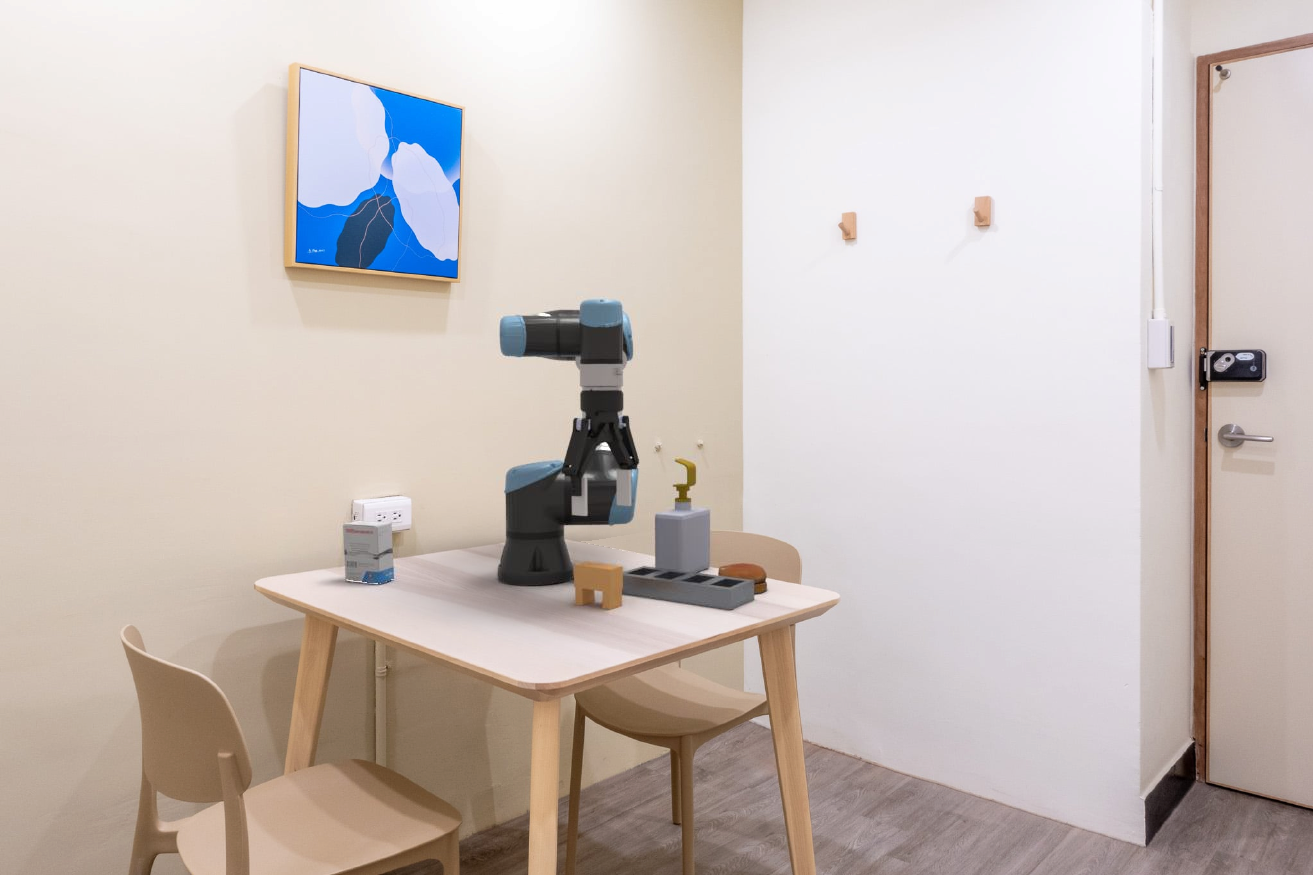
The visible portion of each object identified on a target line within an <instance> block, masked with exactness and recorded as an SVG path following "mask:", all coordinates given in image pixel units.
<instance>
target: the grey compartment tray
mask: <svg viewBox="0 0 1313 875" xmlns="http://www.w3.org/2000/svg"><path fill="white" fill-rule="evenodd" d="M622 595H629V596H635V597H642V598H649V599H655V600H656V599H657V600H662V601H668V602H674V603H682V604H688V605H693V606H694V605H696V606H703V607H710V608H713V609H723V610H728V611H731V610H733V609H735V608H736V609H737V608H738V607H741V606H743V605H745V604H747V603H749V602H752V601H754V600H755V593H754V580H749V579H741V578H734V577H726V576H719V575H718V574H717V575H716V574H708V573H702V572H687V571H679V570H671V569H663V568H656V567H654V566H648V565H647V566H646V565H643V566H639V567H635V568H633V569H629V570H626V571H623V589H622Z"/></svg>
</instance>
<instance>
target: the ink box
mask: <svg viewBox="0 0 1313 875" xmlns="http://www.w3.org/2000/svg"><path fill="white" fill-rule="evenodd" d="M342 533H343V551H344V552H343V554H344V573H345V575H344V576H345V580H346V579H348V580H353V581H362V582H367V583H378V584H380V583H383V584H386V583H387V582H386V581H389V582H391V581H392V580H391V579H394V580H395V572H394V571H395V570H394V551H393V550H394V546H393V525H392V522H386V521H385V522H384V521H365V520H356V521H352V522H346V523H344V524H343V525H342ZM390 580H391V581H390ZM385 582H386V583H385ZM380 585H381V584H380Z"/></svg>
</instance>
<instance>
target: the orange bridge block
mask: <svg viewBox="0 0 1313 875" xmlns="http://www.w3.org/2000/svg"><path fill="white" fill-rule="evenodd" d="M623 566H624V565H616V564H609V563H602V562H593V561H583V562H580V563H576V564H573V578H574V579H573V587H574V595H575V596H574V599H575V600H574V605H579V606H584V605H587V604H588V605H589V604H590V603H593V602H595V601H596V599H595V598H596V597H595V596H596V595H595V594H596V593H595V592H596V591H597V592H602V594H601V595H602V598H601V599H602V604H601V605H602V609H603V610H613V609H615V608H619V607H622V606H623V594H622V589H623V572H624V571H623V570H624V569H623V568H624V567H623Z"/></svg>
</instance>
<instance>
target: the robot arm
mask: <svg viewBox="0 0 1313 875" xmlns="http://www.w3.org/2000/svg"><path fill="white" fill-rule="evenodd" d="M630 321H631V320H630V317H629V315H628V314H627V312H625V311H624V310H623V305H622V302H621V301H620V300H617V299H609V298H608V299H606V298H603V299H601V298H598V299H597V298H593V299H585V300H583V301H581V303H580V305H579V309H555V310H548V311H544V312H540V313H539V312H538V313H534V314H531V315H522V314H515V315H506V316H505V315H504V316H503V317H501V319H500V322H499V346H500V347H499V348H500V353H501V354H502V356H505V357H516V358H522V357H523V358H526V357H527V358H528V357H529V358H530V357H531V358H532V357H536V358H543V359H548V360H553V361H561V362H562V361H563V362H566V361H567V362H575V366H576V368H577V369H578V371H579V386H580V388H581V391H580V393H579V394H580V396H579V398H580V399H579V402H580V403H579V404H580V405H579V406H580V407H579V408H580V411H581V417H574V418H573V420H572V431H571V435H570V439H569V442H568V446H567V449H566V454H565V456H564V460H559V459H557V460H556V459H555V460H547V461H546V460H545V461H543V460H542V461H537V462H536V461H535V462H532V463H531V462H530V463H525V464H520V465H516V466H513V467H511V468H510V469H508V470H507V472H506V473H505V474H506V475H505V486H504V487H505V489H504V494H505V543H504V546H503V550H502V553H501V556H500V561H499V564H498V565H497V580H498V581H499V582H502V583H504V584H509V585H517V586H541V585H542V586H543V585H544V586H545V585H552V584H558V583H563V582H566V581H569V580H571V579H572V578H574V564H573V562H572V561H571V557H570V553H569V549H568V547H567V543H566V540H565V527H566V526H611V527H612V526H614V525H627V524H630V523H631V522H632V521H633V519H634V516H635V511H636V510H635V509H636V502H637V491H638V480H639V467H638V465H639V464H640V459H639V455H638V451H637V448H636V445H635V441H634V437H633V435H632V432H631V428H630V417H629V415H623V410H624V391H623V390H622V387H623V386H624V370H625V368H627V367H626V366H627V363H628V362H631V361H632V359H633V356H634V341H633V332H632V325H631V322H630Z"/></svg>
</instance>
